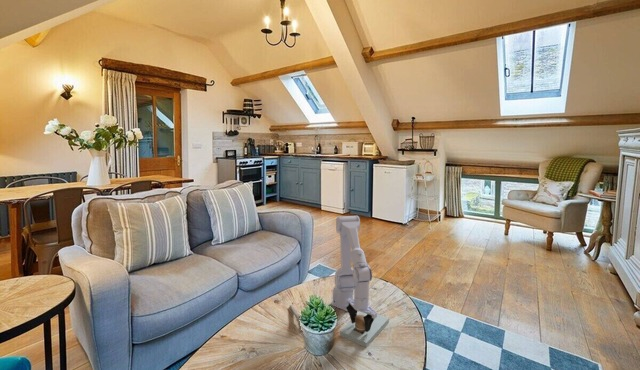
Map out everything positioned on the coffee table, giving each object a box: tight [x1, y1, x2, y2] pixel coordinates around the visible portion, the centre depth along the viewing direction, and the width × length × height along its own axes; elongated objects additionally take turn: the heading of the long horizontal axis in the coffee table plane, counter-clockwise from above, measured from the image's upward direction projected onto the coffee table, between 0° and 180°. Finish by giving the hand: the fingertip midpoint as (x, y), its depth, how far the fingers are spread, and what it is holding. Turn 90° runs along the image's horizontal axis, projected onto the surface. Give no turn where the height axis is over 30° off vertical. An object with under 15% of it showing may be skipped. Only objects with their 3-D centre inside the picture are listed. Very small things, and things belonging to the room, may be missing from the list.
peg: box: [355, 314, 365, 334], centre depth 126 cm, size 5×5×7 cm
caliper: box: [289, 304, 303, 332], centre depth 137 cm, size 20×1×6 cm, turn 18°
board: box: [339, 311, 390, 348], centre depth 130 cm, size 12×20×2 cm, turn 143°
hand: (360, 326), depth 126 cm, fingers open, 7 cm apart
